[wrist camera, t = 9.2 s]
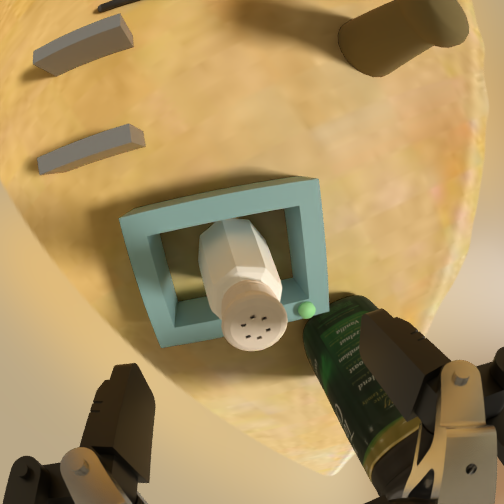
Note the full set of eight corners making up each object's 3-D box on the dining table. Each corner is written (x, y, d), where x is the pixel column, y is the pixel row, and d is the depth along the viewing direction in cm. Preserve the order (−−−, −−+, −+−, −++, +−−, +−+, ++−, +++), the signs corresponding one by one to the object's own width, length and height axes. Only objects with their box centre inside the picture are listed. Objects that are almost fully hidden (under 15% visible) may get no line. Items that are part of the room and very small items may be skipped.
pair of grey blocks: (56, 64, 14) (33, 51, 11) (132, 35, 15) (120, 13, 11) (65, 172, 18) (39, 175, 14) (145, 146, 18) (131, 142, 14)
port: (134, 208, 19) (116, 219, 15) (298, 175, 21) (321, 179, 17) (166, 320, 23) (160, 351, 18) (311, 289, 24) (331, 313, 20)
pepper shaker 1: (186, 228, 21) (168, 291, 10) (255, 206, 21) (305, 246, 11) (209, 291, 22) (216, 388, 12) (273, 270, 23) (326, 352, 12)
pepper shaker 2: (356, 82, 19) (448, 46, 9) (326, 23, 17) (397, -39, 7) (403, 73, 19) (491, 49, 9) (377, 19, 17) (451, -24, 7)
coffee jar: (288, 318, 24) (392, 508, 7) (365, 280, 25) (515, 411, 7) (315, 383, 28) (389, 526, 10) (378, 350, 28) (476, 468, 10)
